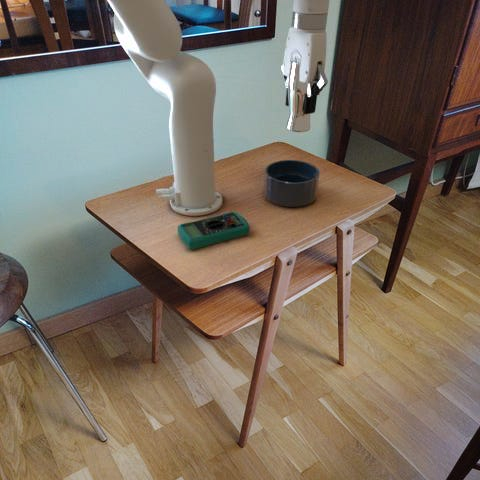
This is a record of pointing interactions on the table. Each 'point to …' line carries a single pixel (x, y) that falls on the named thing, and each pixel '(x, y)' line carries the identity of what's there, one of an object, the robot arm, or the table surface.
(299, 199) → the dark blue bowl
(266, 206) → the table surface
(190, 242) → the digital multimeter
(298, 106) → the silver metal tumbler
